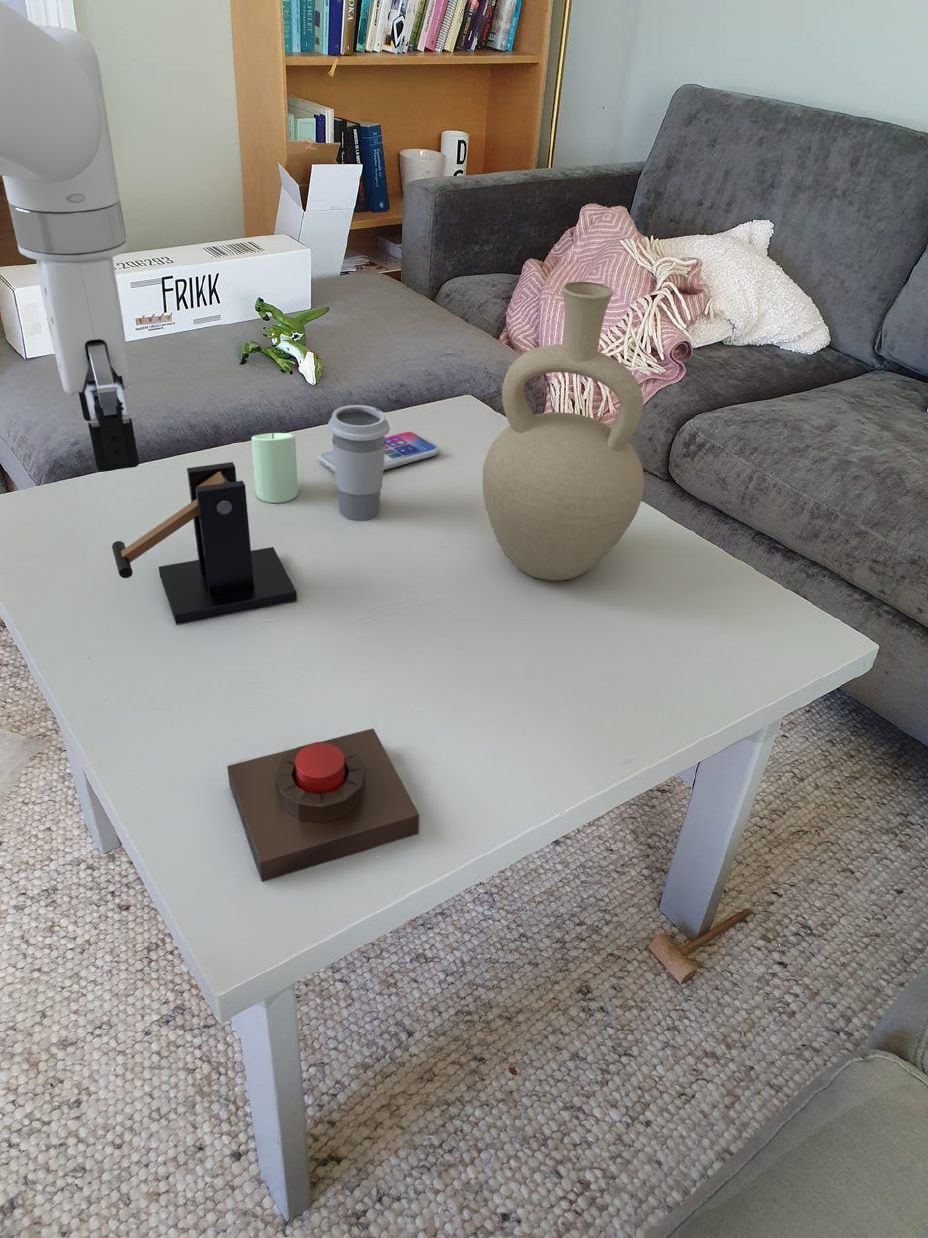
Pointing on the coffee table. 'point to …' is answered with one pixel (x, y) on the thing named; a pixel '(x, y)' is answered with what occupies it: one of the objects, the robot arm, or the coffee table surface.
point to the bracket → (223, 556)
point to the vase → (565, 455)
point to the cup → (358, 458)
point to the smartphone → (396, 451)
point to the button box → (320, 807)
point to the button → (320, 768)
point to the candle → (275, 467)
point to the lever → (158, 532)
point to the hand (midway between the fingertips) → (110, 441)
